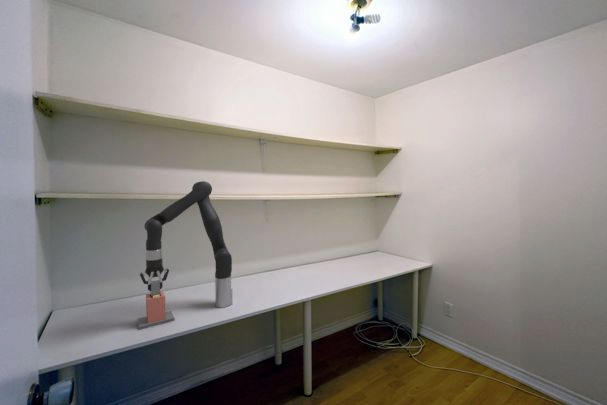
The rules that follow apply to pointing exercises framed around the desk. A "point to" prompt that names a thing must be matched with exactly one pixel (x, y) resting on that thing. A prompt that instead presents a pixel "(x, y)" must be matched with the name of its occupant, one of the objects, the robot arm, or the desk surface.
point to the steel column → (155, 288)
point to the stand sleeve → (155, 312)
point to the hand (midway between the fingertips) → (155, 289)
